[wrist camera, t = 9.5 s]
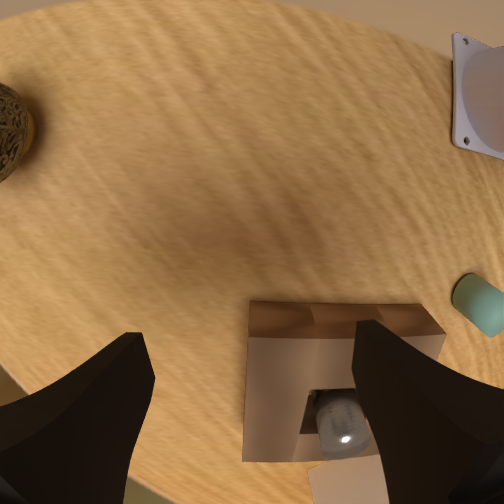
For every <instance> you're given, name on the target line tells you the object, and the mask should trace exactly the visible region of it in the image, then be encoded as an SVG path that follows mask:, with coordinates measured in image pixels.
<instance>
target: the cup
mask: <svg viewBox="0 0 504 504" xmlns="http://www.w3.org/2000/svg"><path fill="white" fill-rule="evenodd" d="M36 132H37V126H36V121H35V118H34V116H33V114H32V113H31V112H30V111H29V110H28V109H27V108H26V107H25V105H24V103H23V101H22V99H21V97H20V96H19V95H18V94H17V93H16V92H15V91H14V90H13V89H11V88H10V87H8V86H6V85H4V84H2V83H0V183H1V182H2V181H3V180H5V179H6V178H7V177H8V176H9V175H10V174H11V173H12V172H13V171H14V170H15V168H16V167H17V165H18V164H19V162H20V160H21V159H22V157H23V156H24V155H25V154H26V153H28V151H29V150H30V149H31V147H32V146H33V144H34V141H35V138H36Z"/></svg>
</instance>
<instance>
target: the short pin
mask: <svg viewBox="0 0 504 504" xmlns="http://www.w3.org/2000/svg"><path fill="white" fill-rule="evenodd" d="M453 305H454V307H455V308H456V309H457V310H458V311H459V312H461V313H462V314H463V315H464V316H465V317H466V318H467V319H469V320H470V321H471V322H472V323H473V324H474V325H475V326H476V327H478V328H479V329H480V330H481V331H482V332H483V333H484V334H485V335H486V336H488V337H494V336H496V335H497V334H499V333H500V332H501V331H502V330H503V329H504V293H503V292H501V291H500V290H498V289H497V288H496V287H494V286H493V285H491V284H490V283H488V282H487V281H485V280H484V279H483V278H481V277H480V276H478V275H477V274H474V273H472V274H468V275H466V276H465V277H464V278H463V279H462V280H461V281H460V282H459V283H458V285H457V287H456V288H455V291H454V294H453Z"/></svg>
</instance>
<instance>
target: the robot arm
mask: <svg viewBox="0 0 504 504" xmlns="http://www.w3.org/2000/svg"><path fill="white" fill-rule="evenodd" d="M463 40H464V41H465V43H466V44H465V43H464V42H463ZM452 51H453V76H454V105H453V131H452V141H453V144H454V145H455V146H457V147H460V148H464V149H468V150H472V151H475V152H479V153H482V154H486V155H489V156H492V157H496V158H499V159H502V160H504V46H501V47H497V48H491V47H489V46H487V45H485V44H483V43H481V42H479V41H477V40H475V39H472V38H470V37H468V36H466V35H463V34H461V33H458V32H456V33H454V34H452ZM464 138H466V144H465V143H464ZM351 370H352V374H353V378H354V383H355V387H356V391H357V394H358V397H359V399H360V402H361V404H362V407H363V410H364V412H365V415H366V417H367V420H368V423H369V425H370V428H371V430H372V433H373V436H374V438H375V441H376V444H377V447H378V450H379V454H380V458H381V462H382V467H383V471H384V476H385V481H386V487H387V492H388V498H389V504H504V389H500V388H497V387H494V386H490V385H488V384H485V383H482V382H479V381H477V380H474V379H471V378H469V377H467V376H464V375H462V374H460V373H458V372H456V371H454V370H452V369H450V368H448V367H446V366H444V365H442V364H440V363H439V362H437V361H435V360H434V359H432V358H430V357H428V356H427V355H425V354H424V353H422V352H421V351H419V350H417V349H416V348H414V347H413V346H411V345H410V344H409V343H407V342H406V341H404V340H403V339H401V338H400V337H399V336H397V335H396V334H394V333H393V332H392V331H390V330H389V329H388V328H386V327H385V326H383V325H382V324H380V323H379V322H377V321H376V320H374V319H371V320H363V321H357V323H356V333H355V342H354V350H353V358H352V366H351ZM154 382H155V375H154V371H153V368H152V365H151V362H150V358H149V355H148V352H147V348H146V345H145V341H144V338H143V334H142V332H126V333H124V334H123V335H121V336H120V337H118V338H117V339H115V340H114V341H113V342H111V343H110V344H109V345H107V346H106V347H105V348H103V349H102V350H101V351H99V352H98V353H97V354H95V355H94V356H93V357H91V358H90V359H88V360H87V361H86V362H84V363H83V364H81V365H80V366H79V367H77V368H76V369H74V370H73V371H71V372H70V373H68V374H67V375H65V376H64V377H62V378H61V379H59V380H57V381H56V382H54V383H52V384H51V385H49V386H47V387H45V388H43V389H41V390H39V391H37V392H35V393H33V394H31V395H29V396H26V397H24V398H22V399H19V400H17V401H15V402H12V403H10V404H7V405H4V406H0V504H123V499H124V492H125V485H126V480H127V474H128V469H129V464H130V460H131V456H132V453H133V449H134V447H135V444H136V441H137V438H138V435H139V433H140V430H141V427H142V424H143V421H144V419H145V416H146V413H147V410H148V407H149V404H150V402H151V397H152V393H153V388H154Z"/></svg>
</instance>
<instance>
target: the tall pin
mask: <svg viewBox="0 0 504 504" xmlns="http://www.w3.org/2000/svg"><path fill="white" fill-rule="evenodd" d="M310 391H311V396H312V402H313V407H314V412H315V418H316V423H317V428H318V434H319V439H320V445H321V451H322V454H323V456H325V457H326V458H328V459H332V460H343V459H348V458H351V457H354V456H356V455H358V454H360V453H362V452H363V451H365V450H366V449H367V448H368V447H369V445H370V443H371V436H370V433H369V430H368V427H367V424H366V421H365V418H364V415H363V412H362V409H361V406H360V403H359V400H358V397H357V394H356V391H355V388H341V389H310Z"/></svg>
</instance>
